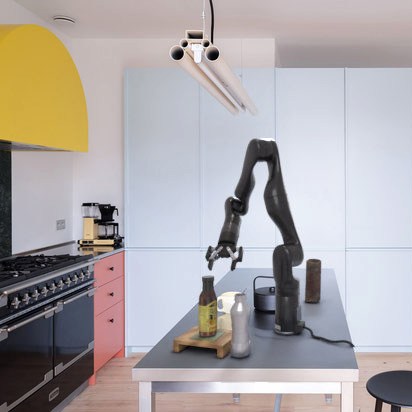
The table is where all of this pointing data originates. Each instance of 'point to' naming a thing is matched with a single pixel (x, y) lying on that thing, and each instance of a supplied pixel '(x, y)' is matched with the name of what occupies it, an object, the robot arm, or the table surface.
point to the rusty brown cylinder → (313, 280)
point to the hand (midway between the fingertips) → (220, 269)
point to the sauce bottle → (207, 308)
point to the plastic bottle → (240, 327)
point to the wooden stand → (205, 341)
